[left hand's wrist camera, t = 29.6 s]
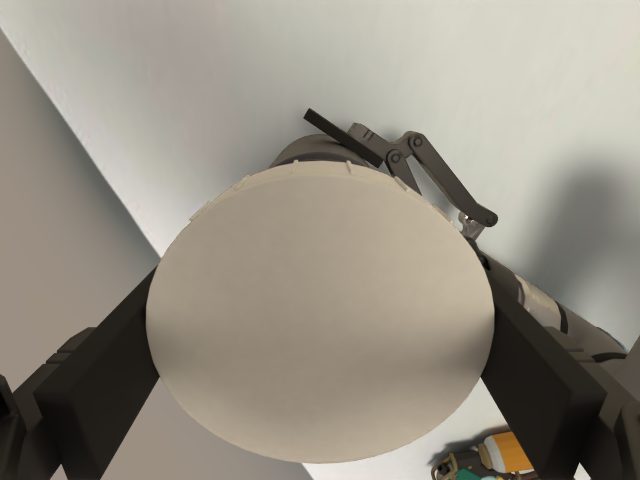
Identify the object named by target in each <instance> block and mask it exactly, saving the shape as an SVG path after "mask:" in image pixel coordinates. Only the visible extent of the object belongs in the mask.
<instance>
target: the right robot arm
mask: <svg viewBox="0 0 640 480" xmlns="http://www.w3.org/2000/svg"><path fill="white" fill-rule="evenodd" d="M304 119H305V120H307V121H308V122H310V123H311V124H313V125H314V126H316V127H317V128H319V129H320V130H322V131H323V132H325V133H326V134H328V135H329V136H331V137H332V138H334V139H335V140H337V141H338V142H340V143H341V144H342V145H344V146H345V147H347V148H348V149H350V150H351V151H353V152H354V153H356V154H357V155H359V156H360V157H362V158H363V159H365V160H366V161H368V162H369V163H371V164H372V165H374V166H375V167H377V168H379V166H380V165H381V163H382V162H383V161H384V162H385V164H386V166H387V168H388V170H389V172H390V174H391V176H392V178H395V176H397V177H398V178H399V179H400V180H401V181H402V182H403V183H404V184H406V185H407V186H408V187H410V188H411V189H413V190H414V191H415V192H417V193H418V194H419V195H421V192H420V190H419V188H418V186H417V184H416V181H415V179H414V177H413V175H412V173H411V170H410V168H409V166H408V164H407V162H406V158H407V157H408V156H410V155H411V154H412V155H413V156H414V158H415V159H416V160H417V161H418V162H419V164H420V165H421V166H422V167H423V169H424V170H425V171H426V172H427V174H428V175H429V176H430V177H431V179H432V180H433V181H434V182H435V184H436V185H437V186H438V187H439V189H440V190H441V191H442V192H443V193H444V195H445V196H446V197H447V198H448V200H449V201H450V202H451V203H452V204H453V205H454V206H455V207H456V208H457V209H459V210H460V211H461V212H460V213H459V216H458V220H459V221H460V222H461V223H462V225H463V230H462V232H460V233H461V234H462V235H463V237H464V238H465V239H466V241H467V242H468V243H469V245H470V246H471V247H472V249H473V250H474V251H475V253H476V255H477V257H478V259H479V261H480V262H481V264H482V265H483V266H484V267H485V268H486V269H487V270H488V271H489V272H490V273H491V274H492V275H493V276H494V277H495V278H496V279H497V280H498V281H499V282H500V283H501V284H502V285H503V286H504V287H505V288H506V290H507V291H508V292H509V293H510V294H511V295H512V296H513V297H514V298H515V299H516V300H517V301H518V302H519V303H520V304H521V305H522V306H523V307H524V308H525V309H526V310H527V311H528V312H529V313H530V314H531V315H532V316H533V317H534V318H535V319H536V320H537V321H538V322H539V323H540V324H541V325H542V326H553V327H554V328H556V329H558V330H559V331H561V332H563V333H565V334H566V335H568V336H570V337H571V338H572V339H573V340H574V341H575V342H576V343H577V344H578V345H579V346H580V347H582V348H583V349H584V352H587V353H588V354H589V355H590V356H591V357H592V358H593V359H594V360H595V363H598V364H599V365H601V366H602V367H603V368H604V369H605V370H606V371H607V372H608V373H609V374H610V375H611V376H612V377H613V378H614V379H615V380H616V381H617V382H619V383H620V384H621V385H622V386H623V387H624V388H625V389H626V390H627V391H628V392H629V393H630V394H631V395H632V396H633V397H634V398H635V399H636V400H638V401H640V336H639V338H638V339H637V341H636V342H635V344H634V346H633V347H632V349H631V350H630V351H629V350H628V349H626V348H625V347H624V346H623V345H622V344H621V343H620V342H619V341H617V340H616V339H614V338H613V337H612V336H611V335H610V334H609V333H607V332H606V331H604V330H602V329H601V328H599V327H595V326H594V325H592V324H590V323H589V322H587V321H586V320H584V319H583V318H581V317H579V316H578V315H576V314H575V313H573V312H571V311H570V310H568V309H567V308H565V307H564V306H562V305H560V304H559V303H558V302H556V301H555V300H554V299H552V298H551V297H549V296H548V295H547V294H545V293H544V292H542V291H541V290H539V289H538V288H536V287H535V286H533V285H532V284H530V283H529V282H527V281H526V280H524V279H523V278H521V277H519V276H518V275H516V274H514V273H513V272H512V271H511V270H509V269H508V268H506V267H505V266H503V265H502V264H500V263H499V262H497V261H496V260H494V259H493V258H491V257H490V256H488V255H487V254H485V253H484V252H482V251H481V250H479V248H478V246H477V244H476V242H475V240H476V239H477V237H478V236H479V235H480V233H481V232H482V231H483V229H484V228H485V226H486V227H492V226H494V225H495V224H496V223H497V221H498V217H497V215H496V214H495V213H493V212H492V211H490V210H488V209H487V208H485V207H484V206H482V205H480V204H478V203H476V201H475V200H474V199H473V197H472V196H471V195H470V194H469V192H468V191H467V190H466V188H465V187H464V186H463V185H462V183H461V182H460V181H459V179H458V178H457V177H456V176H455V174H454V173H453V172H452V170H451V169H450V168H449V167H448V165H447V164H446V163H445V162H444V160H443V159H442V158H441V156H440V155H439V154H438V153H437V151H436V150H435V149H434V147H433V146H432V145H431V144H430V142H429V141H428V140H427V138H426V137H425V136H424V135H423V134H420V133H417V132H413V131H408V132H406V133H405V134H404V135H403V137H401V138H400V139H399V140H397V141H395V142H393V143H389V142H387V141H385V140H384V139H382V138H381V137H379V136H378V135H377V134H375V133H374V132H372V131H371V130H369V129H368V128H367V127H365V126H364V125H362V124H358V123H353V125H352V126H351V128H350V129H349V131H348V133H345V132H344V131H342V130H341V129H340V128H338V127H337V126H335V125H334V124H332V123H331V122H329V121H328V120H326V119H325V118H323V117H322V116H320V115H319V114H318V113H316V112H315V111H313V110H312V109H310V108H309V109H308V111H307V113H306V114H305V116H304ZM421 196H422V195H421Z"/></svg>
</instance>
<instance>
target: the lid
mask: <svg viewBox="0 0 640 480" xmlns="http://www.w3.org/2000/svg"><path fill="white" fill-rule="evenodd" d="M189 220H190V221H191V222H190V223H189V224H188V225H187V226H186V227H185V228H184V229H183V230H182V231H181V232H180V234H179V235H178V236H177V237H176V239H175V240H174V241H173V242H172V244H171V245H170V246H169V247H168V249H167V251H166V252H165V254H164V256H163V257H162V259H161V261H160V263H159V265H158V266H157V269H156V272H155V274H154V277H153V280H152V282H151V285H150V289H149V294H148V299H147V305H146V332H147V338H148V343H149V347H150V351H151V355H152V359H153V363H154V365H155V367H156V369H157V371H158V373H159V376H160V378H161V380H162V381H163V383H164V384H165V386H166V387H167V389H168V391H169V392H170V394H171V395H172V396H173V397H174V399H175V400H176V401H177V402H178V403H179V405H180V406H181V407H182V408H183V409H184V410H185V411H186V412H187V413H188V414H189V415H190V416H191V417H192V418H193V419H195V420H196V421H197V422H198V423H200V424H201V425H202V426H204V427H205V428H206V429H208V430H209V431H210V432H212V433H214V434H215V435H217V436H219V437H220V438H222V439H224V440H226V441H227V442H229V443H232V444H234V445H236V446H238V447H240V448H243V449H245V450H248V451H251V452H253V453H256V454H259V455H262V456H266V457H271V458H275V459H279V460H285V461H292V462H298V463H316V464H322V463H341V462H349V461H356V460H361V459H365V458H370V457H374V456H378V455H381V454H384V453H387V452H390V451H393V450H395V449H398V448H400V447H402V446H404V445H407V444H409V443H411V442H413V441H415V440H416V439H418V438H420V437H422V436H424V435H425V434H427V433H428V432H430V431H431V430H433V429H434V428H435V427H437V426H438V425H440V424H441V423H442V422H443V421H444V420H446V419H447V418H448V417H449V416H450V415H451V414H452V413H453V412H454V411H455V410H456V409H457V408H458V407H459V406H460V405H461V404H462V403H463V401H464V400H465V399H466V398H467V397H468V395H469V394H470V392H471V391H472V389H473V388H474V386H475V385H476V383H477V382H478V380H479V378H480V376H481V374H482V372H483V370H484V368H485V366H486V363H487V360H488V356H489V352H490V348H491V344H492V339H493V334H494V304H493V298H492V292H491V288H490V285H489V282H488V279H487V276H486V273H485V270H484V268H483V266H482V265H481V262H480V261H479V259H478V257H477V255H476V253H475V251H474V250H473V249H472V247H471V246H470V245H469V243H468V242H467V241H466V239H465V238H464V237H463V235H462V234H461V233H460V232H459V231H458V230H457V229H456V228H455V227H454V226H453V225H452V224H453V223H454V222H453V221H452V220H451V219H450V218H449V217H448V216H447V215H446V214H445V213H444V212H442V211H441V210H440V209H439V208H438V207H437V206H436V205H435V204H434V205H433V206H432V205H431V204H430V203H429V202H428V201H427V200H425V199H424V198H423V197H422V196H421V195H419V194H418V193H417V192H415V191H414V190H413V189H411V188H410V187H408V186H407V185H406V184H404V183H403V182H402V181H401V180H400V179H399V178H398V177H397V176H395V178H392V177H390V176H389V175H387V174H384V173H381V172H378V171H376V170H373V169H370V168H367V167H363V166H359V165H354V164H351V162H350V161H347V162H346V163H345V162H332V161H308V162H298V160H294V163H292V164H286V165H281V166H277V167H274V168H271V169H268V170H265V171H262V172H259V173H256V174H254V175H252V176H249V174H248V175H246V176H245V177H244V178H243V179H242V180H241V181H240V182H238V183H236V184H235V185H233V186H232V187H231V188H229V189H228V190H226V191H225V192H223V193H222V194H220V195H219V196H218V197H217V198H216V199H215V200H214V201H213V202H212V203H210V202H209V201H208V202H207V203H206V204H205V205H204V206H203V207H202V208H201V209H200V210H199V211H197V212H196V213H195V214H194V215H193V216H192V217H191V218H190V219H189Z"/></svg>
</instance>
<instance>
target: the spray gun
mask: <svg viewBox="0 0 640 480" xmlns="http://www.w3.org/2000/svg"><path fill="white" fill-rule="evenodd" d="M449 460H450V462H449ZM436 469H438V472H437V480H508V479H511V480H528V479H532V478H535V477H538V475H537V473H536V472H535V471H532V472H529V473H525V474H519V471H521V470H527V469H534V468H533V467H532V465H531V463H530V461H529V460H528V458H527V456H526V454H525V453H524V451H523V449H522V448H521V446H520V444H519V442H518V441H517V439H516V437H515V435H514V434H513V432H512V431H510V432H505V433H500V434H495V435H490V436H488V437H487V438H485V440H484V443H480V444H479V447H478V452H477V451H472V452H464V453H456V454H453V453H449V457H447V458H446V459H444V460H443V461H442V462H440V463H439V464H437V465H436V466H434V467H433V468H432V470H431V476H432V479H433V480H436V478H435V474H434V472H435V470H436ZM511 472H515V474H511ZM537 480H540V479H537ZM572 480H575V478H574V477H573V479H572Z"/></svg>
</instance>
